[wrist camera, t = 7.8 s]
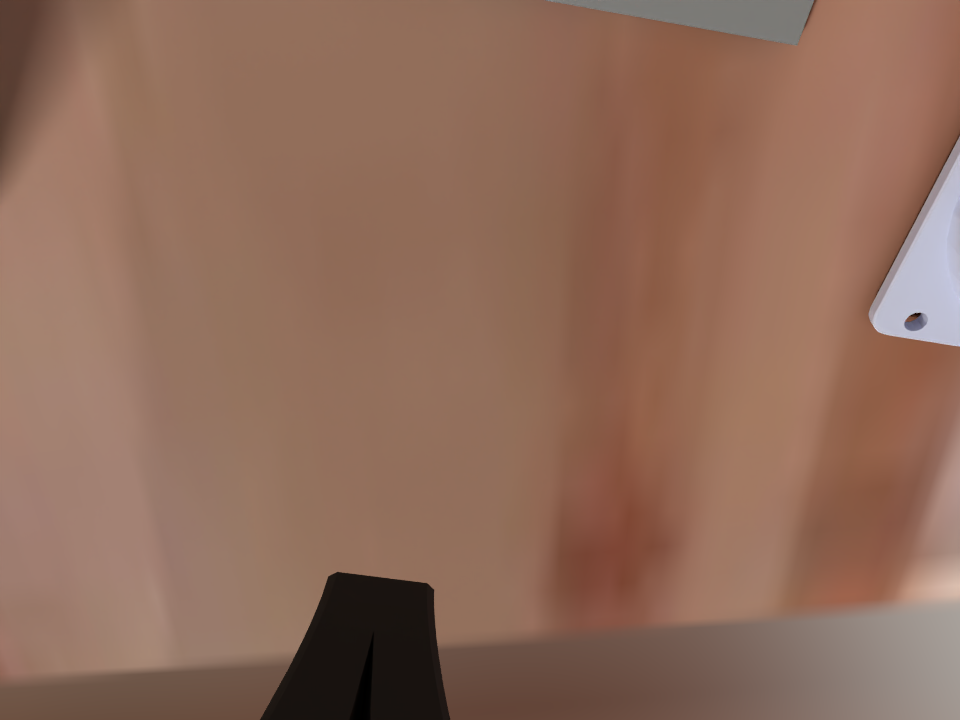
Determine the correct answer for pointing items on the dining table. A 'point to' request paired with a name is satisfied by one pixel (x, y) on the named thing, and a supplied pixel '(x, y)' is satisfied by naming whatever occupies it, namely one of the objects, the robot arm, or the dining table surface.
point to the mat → (718, 15)
